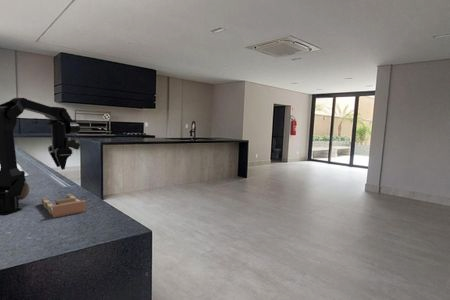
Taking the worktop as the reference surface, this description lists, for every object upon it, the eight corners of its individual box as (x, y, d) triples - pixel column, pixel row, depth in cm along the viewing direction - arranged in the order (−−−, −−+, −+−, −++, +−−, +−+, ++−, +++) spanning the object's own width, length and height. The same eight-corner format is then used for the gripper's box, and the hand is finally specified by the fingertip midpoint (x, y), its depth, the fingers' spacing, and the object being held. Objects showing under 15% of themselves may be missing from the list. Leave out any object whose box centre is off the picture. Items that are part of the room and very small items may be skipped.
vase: (33, 195, 127) (32, 177, 126) (21, 200, 120) (19, 180, 119) (19, 195, 127) (18, 176, 126) (6, 199, 120) (5, 179, 120)
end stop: (86, 211, 107) (86, 201, 106) (53, 217, 99) (53, 206, 99) (85, 210, 108) (84, 200, 107) (52, 216, 100) (52, 205, 100)
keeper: (78, 212, 106) (78, 202, 106) (60, 215, 102) (60, 205, 102) (72, 207, 112) (72, 197, 111) (55, 210, 108) (55, 200, 107)
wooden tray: (85, 210, 108) (84, 203, 107) (52, 216, 100) (52, 209, 100) (70, 199, 122) (70, 193, 122) (41, 204, 114) (41, 198, 114)
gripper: (83, 135, 125) (85, 169, 127) (72, 133, 139) (74, 163, 140) (55, 136, 118) (57, 171, 119) (46, 134, 131) (48, 166, 133)
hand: (60, 168), depth 128 cm, fingers open, 9 cm apart
